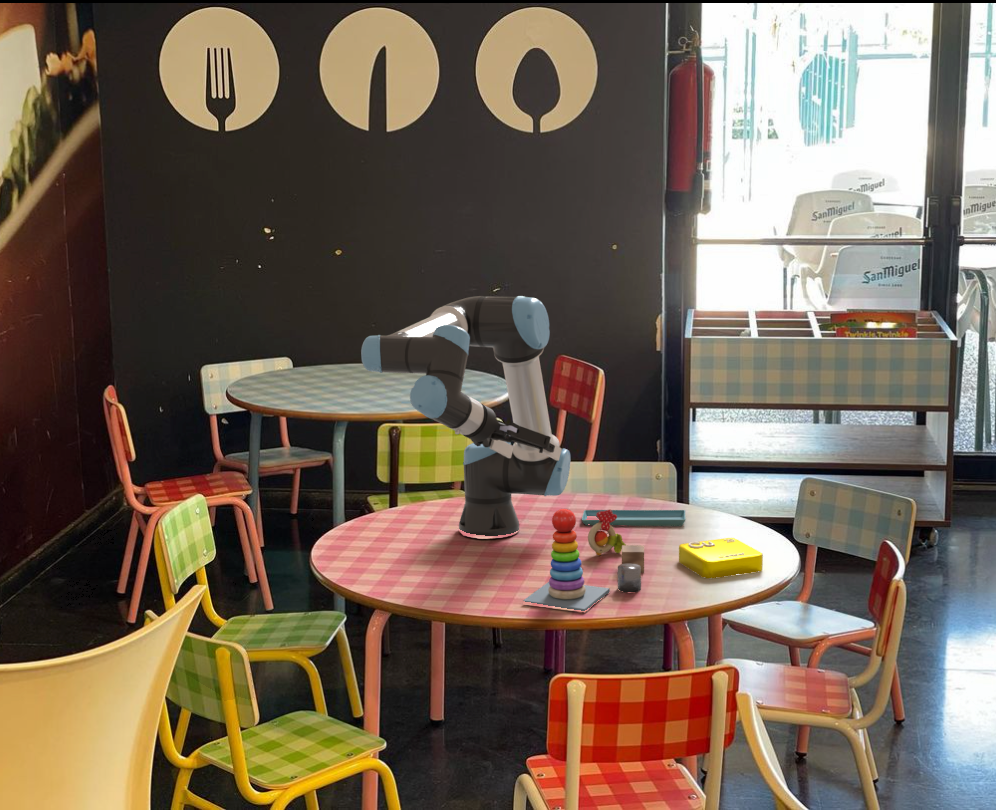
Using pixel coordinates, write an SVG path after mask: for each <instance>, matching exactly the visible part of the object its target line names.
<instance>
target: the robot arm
mask: <svg viewBox="0 0 996 810" xmlns="http://www.w3.org/2000/svg"><path fill="white" fill-rule="evenodd" d="M549 319H550V318H549V314H548V312H547V309H546V307H545V305H544V304H543V302H542V301H541V300H539V299H538V298H535V297H528V296H525V295H524V296H523V295H518V296H484V295H479V296H476V295H475V296H470V297H466V298H463V299H459V300H456V301H453V302H450V303H447V304H445V305H442V306H440V307H438V308H436V309H435V310H434V311H433V312H432V313H431V314H430V316H429V317H427V318H425V319H422V320H420V321H418V322H416V323H413V324H411V325H409V326H406V327H405V328H403V329H400V330H398V331H396V332H394V333H391V334H388V335H381V334H378V335H369V336H367V337H366V338H365V339H364V341H363V343H362V345H361V350H360V352H361V356H360V357H361V363H362V365H363V368H365V370H367V371H368V372H373V373H374V372H375V373H380V374H383V373H389V374H390V373H393V374H395V373H396V374H398V373H399V374H423V376H420V377H419V378H418V379H417V380H416V381H414V382H413V383H414V386H413V387H412V388H410V392H409V399H410V403H411V406H412V407H413V408H414V409H415V410H416V411H417V412H419V413H421V414H422V415H424V416H425V417H426V418H429V419H431V420H434V421H435V422H438V423H440V424H442V425H444V426H445V427H447V428H448V429H450V430H453V431H454V434H455V435H456V436H457V435H459V434H460V435H462V436H464V437H465V438H467V439H469V440H470V441H471V443H470V444H468V445H467V446H465V448H464V451H463V463H462V464H463V476H464V477H463V478H464V479H463V480H464V481H463V482H464V505H463V507H462V508H463V509H462V512H461V515H460V519H459V523H458V530H459V529H460V530H462V531H464V532H466V533H470V534H476V535H485V536H498V535H506V534H511V533H514V532H516V531H518V530H519V531H520V522H519V519H518V515H517V513H516V510H515V508H514V504H513V501H512V494H519V495H529V496H531V495H532V496H544V497H547V496H549V497H550V496H555V497H556V496H559V495H561V494H563V493H564V492H565V490H566V486H567V483H568V481H569V476H570V471H571V470H570V469H571V452H570V450H568V449H566V448H561V445H560V441H559V439H558V437H557V436H555V435H554V434H552V428H551V423H550V416H549V411H548V405H547V398H546V393H545V386H544V381H543V374H542V369H541V368H542V367H541V363H540V356H541V355H542V354H543V352H544V349H545V348H546V346H547V344H548V343H549V340H550V333H551V332H550V331H551V330H550V320H549ZM470 347H477V348H478V347H479V348H492V349H493V355H494V358H495V359H496V360H497V361H498V362H500V363H501V364H502V367H503V373H504V379H505V384H506V389H507V395H508V400H509V406H510V412H511V416H512V421H509V422H508V423H505V422H504V421H501V420H499V419H497V415H496V412H494V410H493V409H492V408H490V407H489V406H487V405H485V404H484V403H481V402H480V401H478V400H477V399H475V398H473V397H471V396H470V395H468V394H465V393H464V392H462V387H463V383H464V382H463V381H464V377H465V372H466V367H467V361H468V356H469V355H470V354H469V349H470ZM507 435H508V437H507ZM511 442H514V443H513V445H512V443H511Z"/></svg>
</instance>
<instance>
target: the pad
mask: <svg viewBox="0 0 996 810" xmlns="http://www.w3.org/2000/svg"><path fill="white" fill-rule="evenodd" d="M584 586H585V588H586V592H585V594H584V595H583V596H581V597H579V598H576V599H568V600H566V599H557V598H554V597H552V596H551V595H550V594H549V592H548V589H549V587H550V584H549V581H547V582H546V583H545V584H543V585H542V586H540V588H538V589H537V590H536V591H534V592H533V593H531V594H530V595H528V596H527V597H526V598H524V599H523V600H522V601H525V602H531V603H537V604H543V605H548V606H555V607H561V608H567V609H574V610H581V611H585V610H587V609H588V608H590V607H591V606H592V605H593V604H594V603H596V602H597V601H598V600H600V599H601V598H603V597H604V596H605V595H606V594H608V593H609V592H610V591H611V589H610V588H609V587H602V586H601V587H600V586H596V585H595V586H593V585H587V584H584ZM609 594H610V593H609ZM609 594H608V595H609ZM606 596H607V595H606ZM606 596H605V597H606ZM605 597H604V598H605ZM604 598H603V599H604ZM600 601H601V600H600Z"/></svg>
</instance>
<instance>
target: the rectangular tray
mask: <svg viewBox="0 0 996 810" xmlns="http://www.w3.org/2000/svg"><path fill="white" fill-rule="evenodd" d="M606 510H607V509H585V510H583V511H582V517H581V522H582V523H583V525H584V524H585V525H584V526H594V525H595V524H597V523H599V520H586V519H587V516H596V514H597V513H598V512H601V511H602V512H603V511H606ZM611 510H612V513H613V514H615V515H617V519H616V520H614V521H613V522H611V523H609V524H610V525H627V527H629V526H630V527H633V526H634V527H683V526H684V525H685V524H684V523H685V522H686V519H687V518H686V517H687V516H686V510H685V509H658V510H657V509H611ZM596 517H597V516H596ZM588 524H590V525H588ZM682 525H683V526H682Z"/></svg>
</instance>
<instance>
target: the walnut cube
mask: <svg viewBox="0 0 996 810" xmlns="http://www.w3.org/2000/svg"><path fill="white" fill-rule="evenodd" d="M621 564H637V565H639V566H641V574H645V545H635V544H634V545H633V544H632V545H629V544H628V545H627V544H626V545H622V549H621Z"/></svg>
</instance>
